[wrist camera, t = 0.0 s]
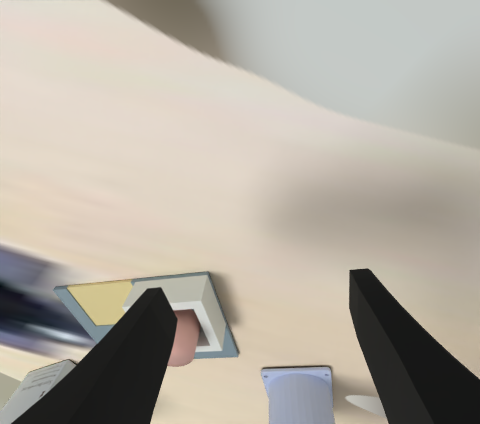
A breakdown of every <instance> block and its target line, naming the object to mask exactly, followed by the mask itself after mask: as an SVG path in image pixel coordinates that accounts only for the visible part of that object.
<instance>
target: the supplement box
mask: <svg viewBox="0 0 480 424" xmlns="http://www.w3.org/2000/svg"><path fill="white" fill-rule="evenodd" d="M75 366H76V365H75V364H74V363H73V362H71V361H70V360H66V361H63V362H60V363H56V364H53V365H50V366H47V367H44V368H41V369H38V370H35V371H31V372H29V373H28V374H27V375H26V377H25V378H24V380H23V381H22V382H21V384H20V385H19V387H18V388H17V389H16V391H15V392H14V393H13V395H12V396H11V398H10V399H9V400H8V402H7V403H6V405H5V406H4V408H3V409H2V410H1V412H0V424H11V423H12V422H13V421H15V420H16V419H17V418H18V417H19V416H20V415H22V414H23V413H24V412H25V411H26V410H28V409H29V408H30V407H31V406H32V405H34V404H35V403H36V402H37V401H38V400H39V399H41V398H42V397H43V396H44V395H45V394H46V393H47V392H49V391H50V390H51V389H52V388H53V387H54V386H55V385H56V384H57V383H58V382H59V381H61V380H62V379H63V378H64V377H65V376H66V375H67V374H68V373H69V372H70V371H71V370H72V369H73V368H74V367H75Z"/></svg>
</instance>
